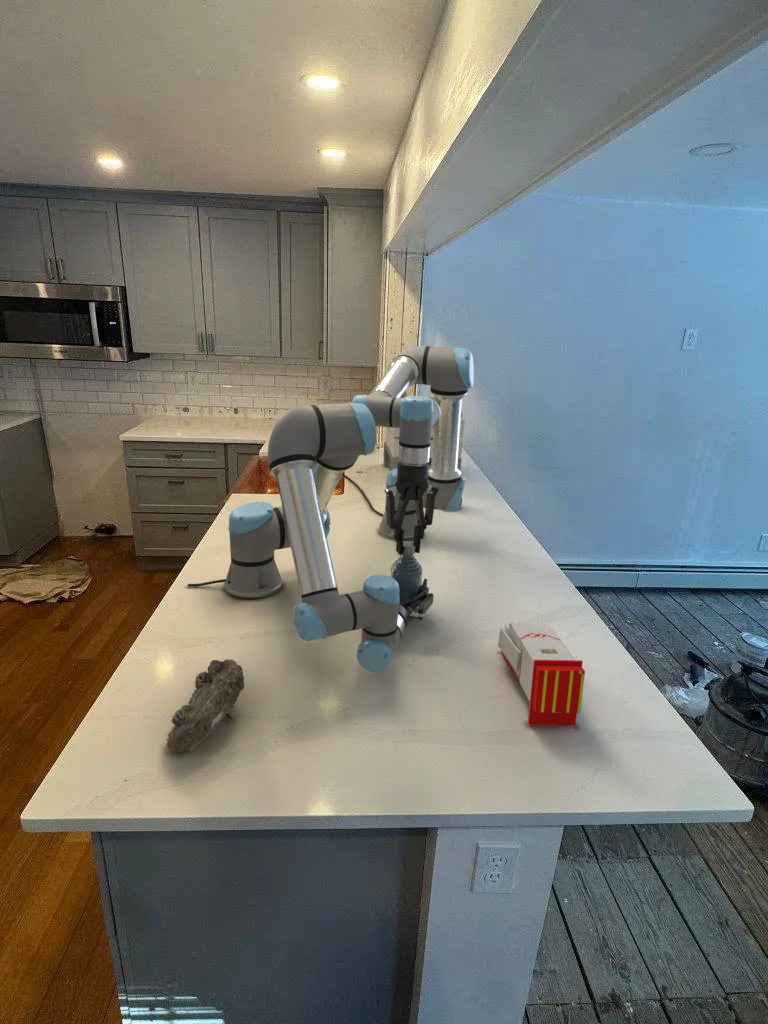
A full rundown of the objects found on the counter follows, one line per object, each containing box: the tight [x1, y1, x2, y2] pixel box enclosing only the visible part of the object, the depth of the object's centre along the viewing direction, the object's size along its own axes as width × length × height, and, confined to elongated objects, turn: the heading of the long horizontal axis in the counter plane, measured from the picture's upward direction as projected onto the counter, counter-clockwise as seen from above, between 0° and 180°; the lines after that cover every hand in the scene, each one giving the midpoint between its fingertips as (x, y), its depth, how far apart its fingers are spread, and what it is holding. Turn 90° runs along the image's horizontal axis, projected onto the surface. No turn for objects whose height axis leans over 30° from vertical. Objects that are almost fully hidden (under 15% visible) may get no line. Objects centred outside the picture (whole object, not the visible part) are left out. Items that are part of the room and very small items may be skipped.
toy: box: [497, 621, 586, 727], centre depth 121 cm, size 12×13×30 cm
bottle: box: [389, 554, 424, 619], centre depth 146 cm, size 8×8×18 cm
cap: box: [403, 540, 417, 555], centre depth 143 cm, size 4×4×2 cm
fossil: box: [166, 658, 245, 754], centre depth 106 cm, size 22×10×15 cm
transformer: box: [383, 390, 465, 472], centre depth 268 cm, size 34×33×41 cm
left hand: (409, 581), depth 152 cm, fingers closed on bottle, 8 cm apart
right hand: (407, 551), depth 144 cm, fingers closed on cap, 4 cm apart
